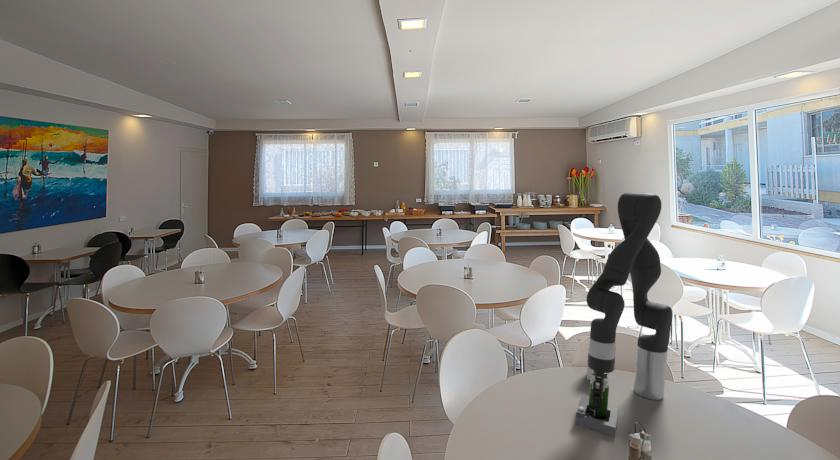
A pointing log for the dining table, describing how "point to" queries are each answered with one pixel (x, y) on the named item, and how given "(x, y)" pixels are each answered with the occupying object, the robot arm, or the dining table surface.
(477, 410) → the dining table surface
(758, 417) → the dining table surface
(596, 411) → the beer can
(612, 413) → the grey square frame
